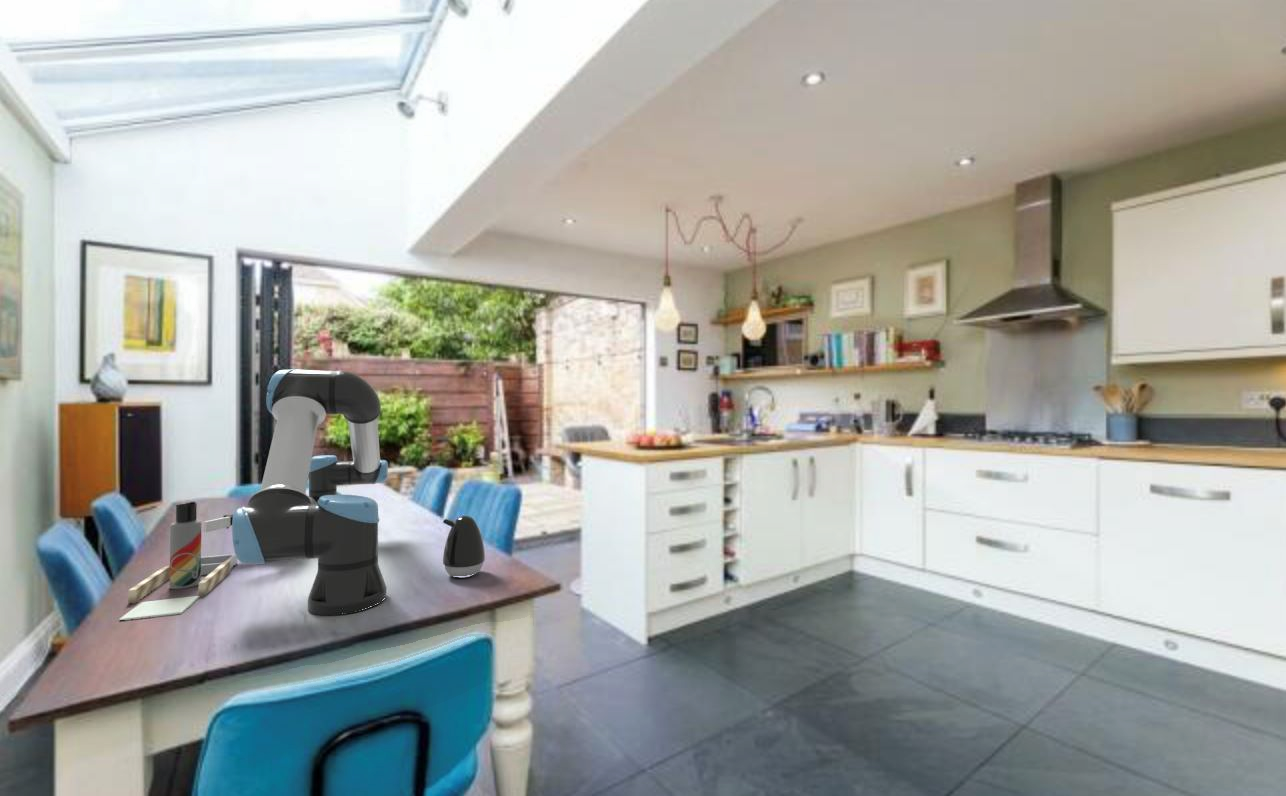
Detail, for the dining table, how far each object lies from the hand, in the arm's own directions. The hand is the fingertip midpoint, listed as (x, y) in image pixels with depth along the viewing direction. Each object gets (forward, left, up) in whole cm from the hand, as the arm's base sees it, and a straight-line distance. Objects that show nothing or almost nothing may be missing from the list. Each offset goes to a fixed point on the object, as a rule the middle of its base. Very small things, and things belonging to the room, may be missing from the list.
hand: (225, 528), depth 137 cm
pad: (-24, +5, -11) cm, 27 cm away
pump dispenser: (-25, -56, -12) cm, 63 cm away
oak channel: (-9, +6, -11) cm, 16 cm away
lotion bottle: (-8, +6, -12) cm, 15 cm away
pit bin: (+5, +6, -11) cm, 13 cm away
